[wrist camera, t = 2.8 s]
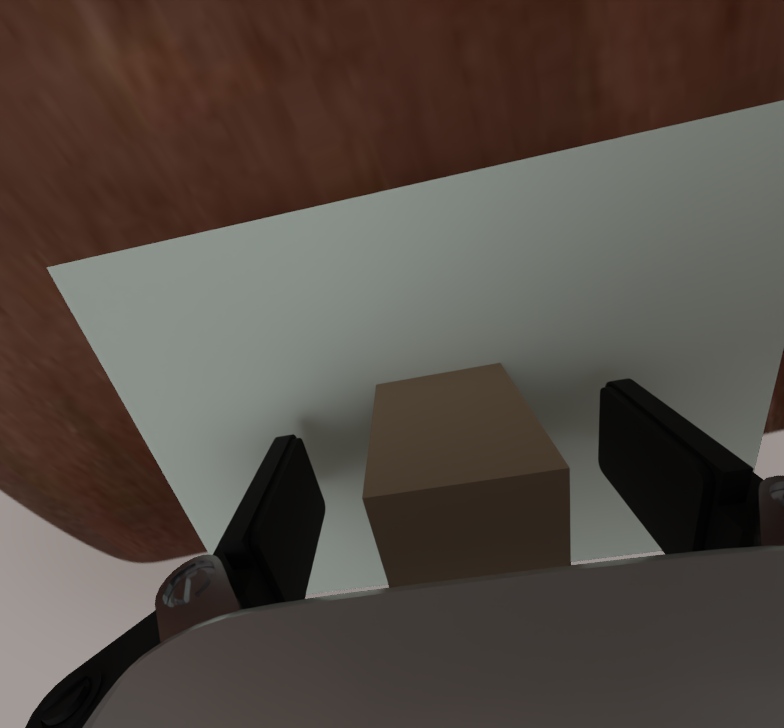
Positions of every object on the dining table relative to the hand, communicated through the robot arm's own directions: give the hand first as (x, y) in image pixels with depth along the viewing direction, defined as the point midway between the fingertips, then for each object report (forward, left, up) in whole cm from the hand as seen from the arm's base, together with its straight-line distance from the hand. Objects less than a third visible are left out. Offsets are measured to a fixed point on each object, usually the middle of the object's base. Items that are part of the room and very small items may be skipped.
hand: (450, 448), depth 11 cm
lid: (0, 0, -2) cm, 2 cm away
